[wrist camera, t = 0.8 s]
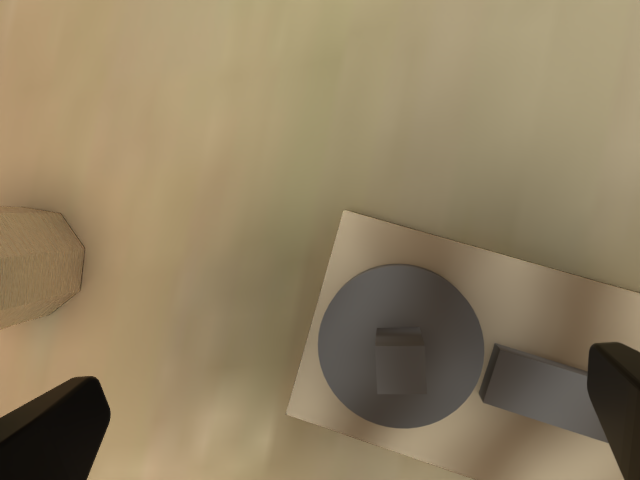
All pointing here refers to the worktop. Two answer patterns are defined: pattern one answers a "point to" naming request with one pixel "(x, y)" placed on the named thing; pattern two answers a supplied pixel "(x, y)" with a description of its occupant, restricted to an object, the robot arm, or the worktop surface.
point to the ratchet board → (460, 355)
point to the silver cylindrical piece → (36, 264)
